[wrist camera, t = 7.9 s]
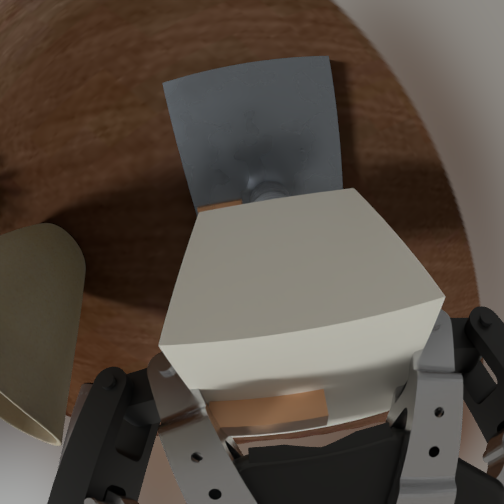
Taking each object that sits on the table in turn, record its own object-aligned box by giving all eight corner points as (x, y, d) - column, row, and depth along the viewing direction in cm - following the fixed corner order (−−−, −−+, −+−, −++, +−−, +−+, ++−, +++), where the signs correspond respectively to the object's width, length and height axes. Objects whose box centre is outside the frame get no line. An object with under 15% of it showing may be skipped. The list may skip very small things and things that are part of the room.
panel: (337, 279, 23) (357, 329, 18) (226, 296, 24) (223, 350, 19) (322, 58, 14) (357, 45, 9) (168, 83, 14) (134, 81, 9)
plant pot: (115, 328, 27) (74, 459, 13) (15, 281, 23) (-47, 381, 10) (135, 213, 19) (27, 403, 6) (7, 165, 16) (-115, 264, 2)
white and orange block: (353, 188, 10) (462, 323, 4) (349, 301, 13) (393, 428, 7) (199, 211, 10) (150, 378, 4) (232, 320, 13) (228, 456, 8)
